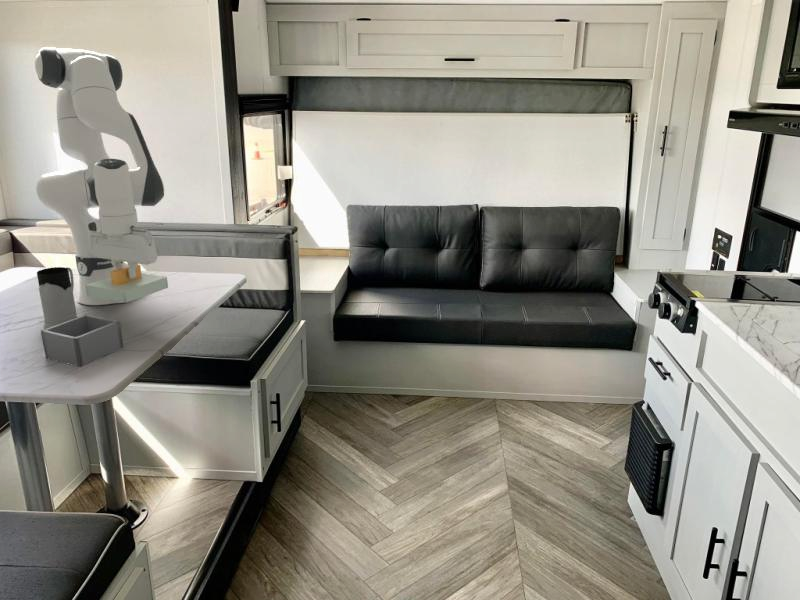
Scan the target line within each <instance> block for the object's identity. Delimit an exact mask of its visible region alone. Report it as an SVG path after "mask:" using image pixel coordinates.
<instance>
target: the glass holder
mask: <svg viewBox="0 0 800 600" xmlns="http://www.w3.org/2000/svg"><path fill="white" fill-rule="evenodd" d="M36 275H37V281H38V282H37V283H38V287H39V288H38V291H39V296H40V302H41V307H42V313H43V318H44V324H43V327H44V328H45V329H47V328H50V327H53V326H56V325H58V324H61V323H64V322H67V321H69V320H72V319H75V318H78V317H79V316H78V313H77V310H76V309H77V308H76V302H75V298H74V285H75V284H74V283H75V281H74V273H73V270H72V268H71V267H62V266H59V267H58V266H57V267H56V266H55V267H48V268H47V267H46V268H42V269H40V270H38V271H37V272H36Z"/></svg>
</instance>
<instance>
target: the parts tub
mask: <svg viewBox="0 0 800 600" xmlns="http://www.w3.org/2000/svg"><path fill="white" fill-rule="evenodd" d="M77 317H78V318H75V319H72V320H69V321H67V322H64V323H61V324H58V325H56V326H53V327H50V328H45V329H42V330H40V336H41V340H42V345H43V349H44V355H45V359H47V358H50V359H49V360H51V359H53V360H52V361H55V360H57V362H59V361H60V362H61V363H63V362H64V363H63V364H67V363H69V364H68V365H71V364H72V366H75V365H76V367H80V368H81V367H82V366H86V365H88V364H90V363H92V362H95V361H97V360H98V358H99V359H101V358H103V357H105V355H106V356H108V355H110V354H112V353H115V352H116V350H117V351H119V350H121V349H123V348H124V342H123V336H122V327H121V322H120V321H119V320H114V319H109V318H104V317H100V316H96V315H95V316H94V315H91V314H83V315H81V316H77ZM118 349H119V350H118ZM114 351H115V352H114ZM109 353H110V354H109ZM107 354H108V355H107ZM100 357H101V358H100ZM96 359H97V360H96ZM94 360H95V361H94ZM89 362H90V363H89ZM87 363H88V364H87ZM85 364H86V365H85Z"/></svg>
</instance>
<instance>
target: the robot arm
mask: <svg viewBox="0 0 800 600" xmlns="http://www.w3.org/2000/svg"><path fill="white" fill-rule="evenodd" d="M34 68H35V73H36V74H37V77H38V79H39V80H38V81H40V82H41V83H42V84H43V85H45V86H47V87H50V88H53V89H57V88H58V91H57V95H56V120H57V121H56V122H57V130H58V137H59V138H58V139H59V145H60V148H61V150H62V151H63V153H64V154H65V155H67V156H69V157H71V158H72V159H75V160H78V161H81V162H82V163H84V164H85V165H86V166H87V168H86V169H76V170H75V169H72V170H70V169H69V170H57V171H52V172H48V173H44V174H41V176H40V177H39V178H38V180H37V182H36V187H35V188H36V194H37V197H38V200H39V201H40V202H41V204H42V205H44V206H45V207H46V208H48V209H50V210H52V211H53V212H54V213H56V214H58V215H59V216H60V217H61V218H62V219H63V220H64V221H65V223H66V224H67V225H68V227H69V229H70V232H71V234H72V235H71V236H72V237H73V238H72V239H73V243H74V247H75V253H76V254H75V262H76V263H75V264H76V269H77V272H78V278H79V279H78V281H79V282H78V283H79V285H78V290H79V291H78V297H77V302H78V303H79V304H82V305H86V306H101V305H103V306H105V305H111V304H125V303H124V302H118V301H112V300H107V299H101V298H95V297H90V296H87V291H86V285H87V284H90V283H94V282H97V281H100V280H103V279H107V278H110V277H111V274H110V271H113V270H116V269H119V268H123V267H126V266H130V267H129V270H128V271H127V272H126V275H127V278H135V277H136V272H135V271H136V269H137V266H138V265H145V266H147V265H151V264H154V263H156V262H157V260H158V254H157V252H158V251H157V248H156V244H155V241H154V238H153V235H152V232H150V231H149V230H148V228H146V227H144V226H142V227H139V219H138V213H137V209H136V207H140V206H141V207H143V206H144V207H155V206H156V205H158V203H160V202H161V201H162V200H163V199H164V196H165V184H164V181H163V179H162V177H161V175H160V173H159V170H158V169H157V167H156V165H155V163H154V160H153V157H152V155H151V152H150V150H149V147H148V145H147V143H146V139H145V138H144V135H143V133H142V129H141V128H140V126H139V123H138V121H137V120H136V118H135V116H134V115H133V114H131V113H129V112H127V111H126V110H125V108H124V107H122V104H121V103H120V101H119V99H118V95H117V91H118V90H120V88H121V86H122V84H123V78H124V76H123V75H124V73H123V69H122V65H121V63H120V61H119V60H118V58H117V57H114V56H112V55H110V54H106V53H103V54H102V53H98V52H95V51H91V50H90V51H89V50H84V49H73V48H56V47H54V46H51V47H50V46H49V47H48V46H46V47H42V48H40V49H39V51H38V52H37V53H36V58H35V60H34ZM102 133H103V134H106V135H109V136H112V137H115V138H118V139H120V140H122V141H123V142H125V143H126V144H127V145H128V147H129V150H130V151H131V154H132V157H133V159H134V162H135V164H136V166H137V168H133V169H132V168H131V169H130V168H129V166H128V163H127V162H126V161H125V160H123V159H119V158H118V159H117V158H110V156H109V154H108V153H107V150H106V149H105V148H106V147H105V145H104V141H103V137H102ZM94 208H98V217H95V216H93V215H92V214H90V212H89V211H88V209H94Z"/></svg>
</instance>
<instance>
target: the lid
mask: <svg viewBox="0 0 800 600" xmlns="http://www.w3.org/2000/svg"><path fill="white" fill-rule="evenodd" d="M129 267H130V266H126V267H123V268H119V269H116V270H113V271H110V274H111V277H110V278H107V279H103V280H100V281H97V282H94V283H90V284H87V285H86V291H87V296H90V297H95V298H101V299H107V300H112V301H118V302H124V303H123V304H126V303H130V302H133V301H135V300H138V299H140V298H143V297H146V296H150V295H151V294H154V293H155V294H156V293H158V292H160V291H163V290H166V289H168V288H169V284H168V277H167V276H162V275H161V276H160V275H157V274H156V275H155V274H148V273H142V271H141V264H138V266H137V269H136V271H135V272H136V277H135V278H127V275H126V272H127V271H128V270H129Z"/></svg>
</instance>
